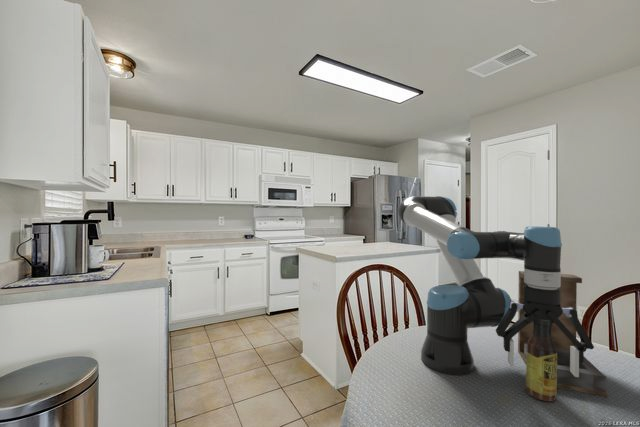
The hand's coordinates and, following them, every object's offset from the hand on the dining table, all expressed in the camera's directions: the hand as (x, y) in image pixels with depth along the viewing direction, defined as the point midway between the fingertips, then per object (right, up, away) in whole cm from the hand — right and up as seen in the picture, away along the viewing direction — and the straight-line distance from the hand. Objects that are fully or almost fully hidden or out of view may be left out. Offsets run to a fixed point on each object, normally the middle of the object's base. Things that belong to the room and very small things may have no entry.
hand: (541, 368), depth 74 cm
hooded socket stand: (+14, -7, +12) cm, 19 cm away
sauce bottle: (0, -7, 0) cm, 7 cm away
